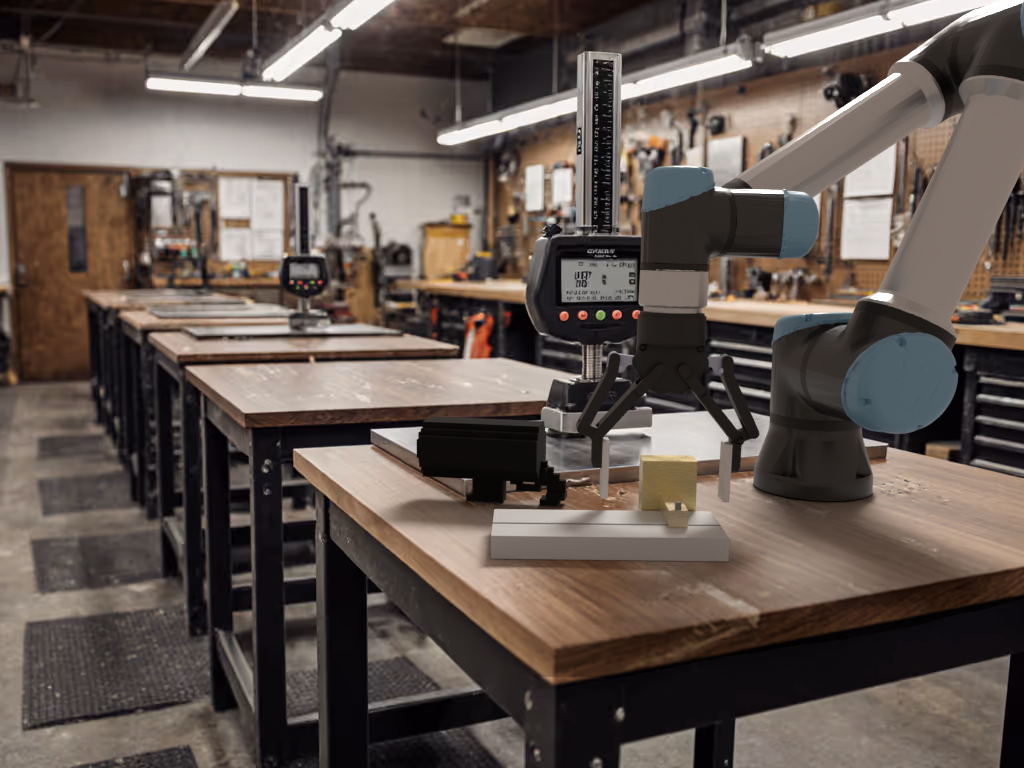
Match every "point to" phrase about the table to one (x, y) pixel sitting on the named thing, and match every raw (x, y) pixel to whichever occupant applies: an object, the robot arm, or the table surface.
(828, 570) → the table surface
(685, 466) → the pale yellow block
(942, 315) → the robot arm
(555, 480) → the security camera
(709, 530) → the board
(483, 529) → the table surface
